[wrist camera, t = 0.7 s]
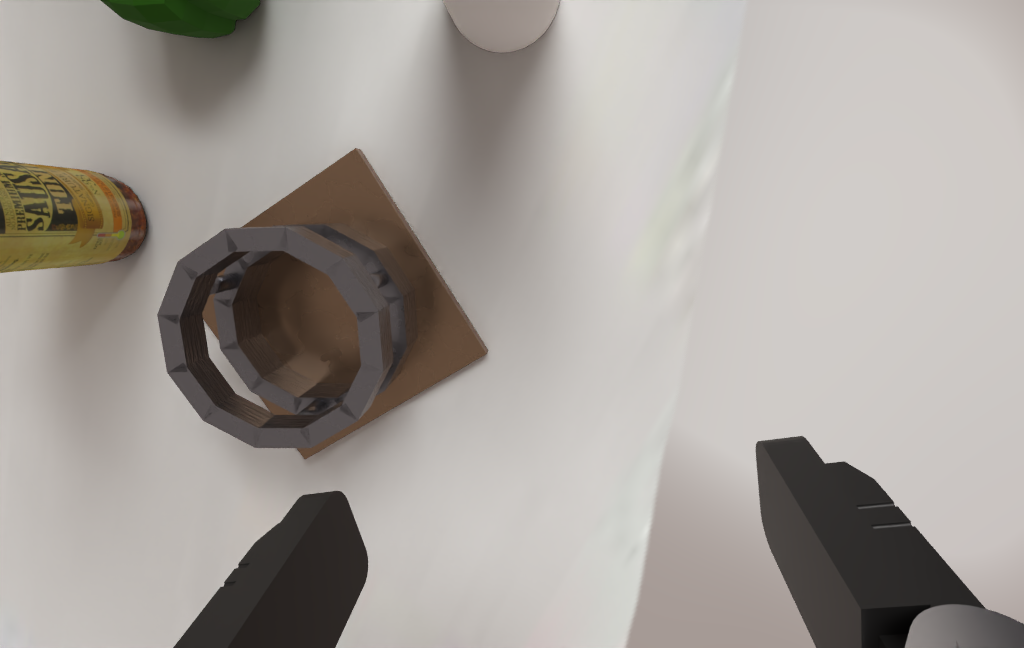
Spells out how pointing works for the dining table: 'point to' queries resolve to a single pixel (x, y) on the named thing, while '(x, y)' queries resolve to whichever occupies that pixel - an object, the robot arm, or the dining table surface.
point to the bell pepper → (185, 15)
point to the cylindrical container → (502, 21)
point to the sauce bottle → (65, 218)
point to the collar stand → (314, 315)
